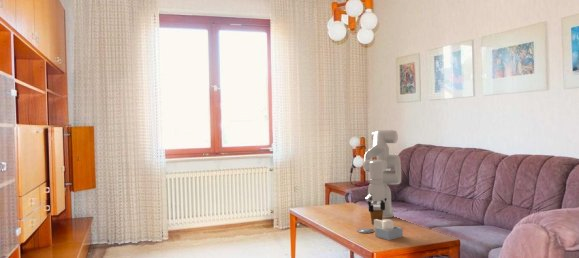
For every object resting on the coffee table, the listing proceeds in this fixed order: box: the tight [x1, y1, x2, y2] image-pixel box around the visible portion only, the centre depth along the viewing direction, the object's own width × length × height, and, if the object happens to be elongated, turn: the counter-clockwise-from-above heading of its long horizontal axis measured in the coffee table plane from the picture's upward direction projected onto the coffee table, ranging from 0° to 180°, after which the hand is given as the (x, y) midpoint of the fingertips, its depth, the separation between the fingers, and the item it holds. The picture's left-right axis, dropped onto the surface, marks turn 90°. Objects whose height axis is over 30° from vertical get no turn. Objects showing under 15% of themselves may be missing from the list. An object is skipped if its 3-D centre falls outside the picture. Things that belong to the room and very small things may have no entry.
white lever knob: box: [373, 218, 395, 230], centre depth 253 cm, size 13×6×9 cm, turn 35°
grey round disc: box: [356, 227, 375, 234], centre depth 262 cm, size 10×10×1 cm
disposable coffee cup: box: [369, 203, 383, 226], centre depth 279 cm, size 10×10×12 cm
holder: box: [374, 225, 404, 241], centre depth 250 cm, size 11×10×5 cm
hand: (377, 210), depth 256 cm, fingers open, 9 cm apart
